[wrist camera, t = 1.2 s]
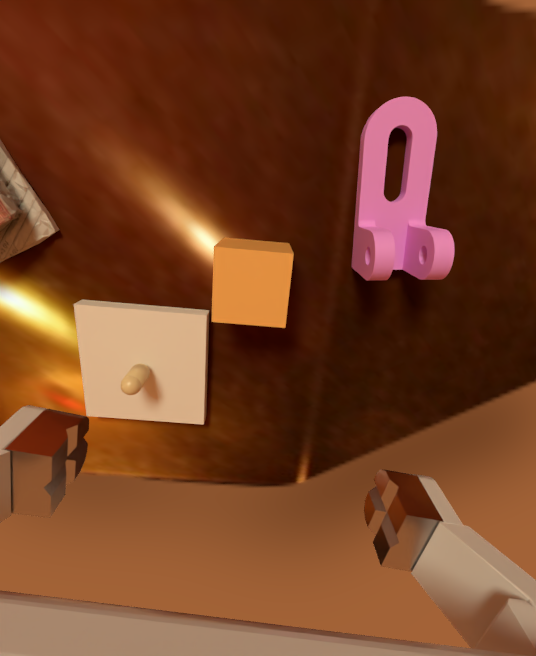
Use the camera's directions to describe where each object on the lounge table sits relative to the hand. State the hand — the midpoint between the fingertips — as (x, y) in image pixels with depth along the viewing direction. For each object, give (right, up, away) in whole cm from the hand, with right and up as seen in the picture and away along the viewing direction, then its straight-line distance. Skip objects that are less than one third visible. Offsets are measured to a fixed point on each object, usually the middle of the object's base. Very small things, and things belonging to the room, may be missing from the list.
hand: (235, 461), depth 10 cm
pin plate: (-11, 0, +25) cm, 28 cm away
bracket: (+11, +15, +20) cm, 28 cm away
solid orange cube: (0, +9, +22) cm, 24 cm away
